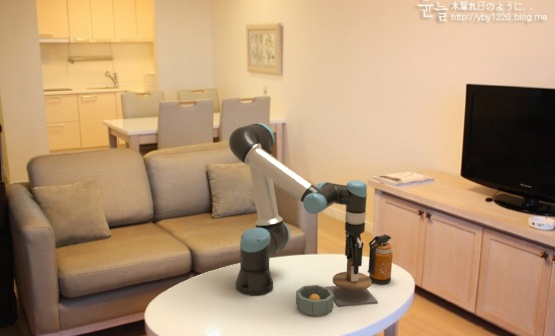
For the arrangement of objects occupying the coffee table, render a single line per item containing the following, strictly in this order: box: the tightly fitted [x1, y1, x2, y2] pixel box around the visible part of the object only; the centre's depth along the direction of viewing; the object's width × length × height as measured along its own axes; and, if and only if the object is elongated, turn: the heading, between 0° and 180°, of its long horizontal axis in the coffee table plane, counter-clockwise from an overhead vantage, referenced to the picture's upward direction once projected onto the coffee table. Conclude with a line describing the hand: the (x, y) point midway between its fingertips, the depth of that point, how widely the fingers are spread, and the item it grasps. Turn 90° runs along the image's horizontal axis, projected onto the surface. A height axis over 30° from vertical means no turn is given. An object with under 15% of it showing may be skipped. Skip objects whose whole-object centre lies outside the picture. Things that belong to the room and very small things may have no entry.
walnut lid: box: [332, 258, 372, 290], centre depth 219 cm, size 15×15×9 cm
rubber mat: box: [325, 285, 379, 308], centre depth 221 cm, size 16×16×1 cm
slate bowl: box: [295, 284, 335, 317], centre depth 211 cm, size 13×13×6 cm
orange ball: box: [309, 294, 321, 300], centre depth 210 cm, size 4×4×4 cm
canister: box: [367, 234, 394, 285], centre depth 233 cm, size 9×11×20 cm
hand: (352, 277), depth 220 cm, fingers closed on walnut lid, 4 cm apart
